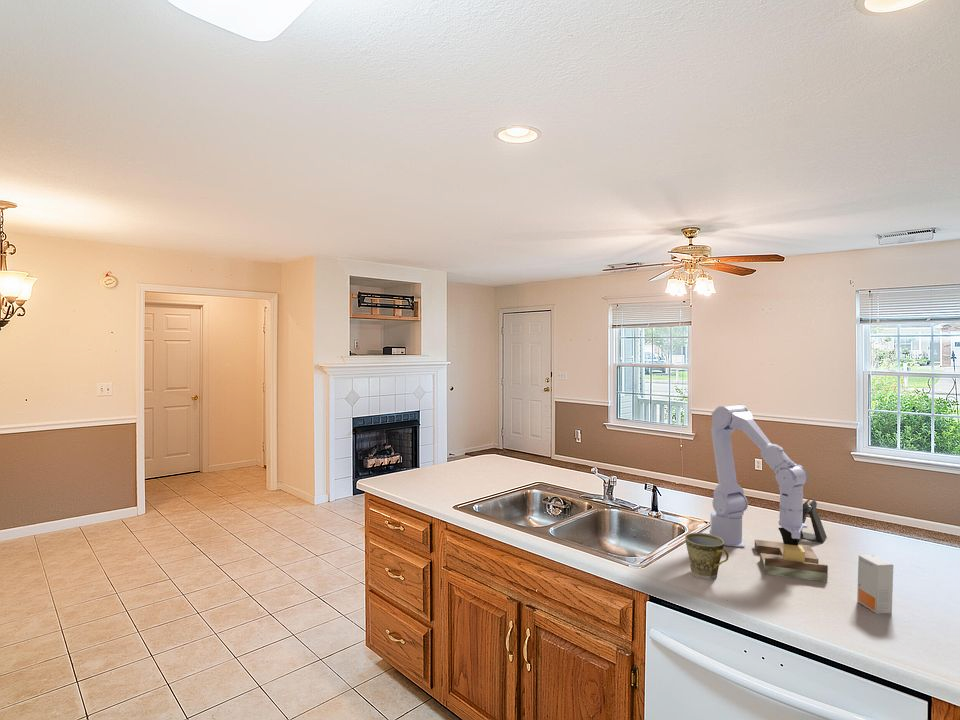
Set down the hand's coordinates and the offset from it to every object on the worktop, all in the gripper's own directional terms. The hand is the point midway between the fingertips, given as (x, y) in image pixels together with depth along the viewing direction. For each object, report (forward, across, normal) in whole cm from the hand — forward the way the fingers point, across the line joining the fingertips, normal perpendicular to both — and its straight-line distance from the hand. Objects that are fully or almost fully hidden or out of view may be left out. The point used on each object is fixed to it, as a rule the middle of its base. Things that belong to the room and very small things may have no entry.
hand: (790, 554), depth 154 cm
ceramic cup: (+3, -15, +23) cm, 27 cm away
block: (+1, -4, 0) cm, 4 cm away
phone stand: (+4, +27, -10) cm, 29 cm away
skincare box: (+4, -20, -14) cm, 25 cm away
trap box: (+3, +2, 0) cm, 4 cm away
